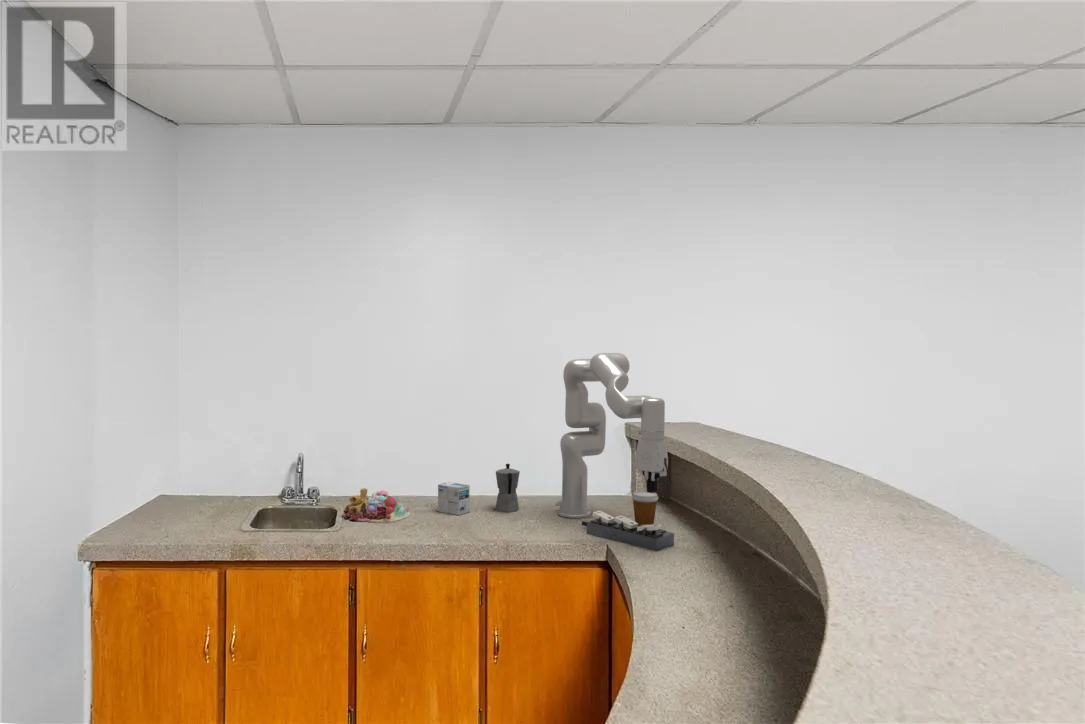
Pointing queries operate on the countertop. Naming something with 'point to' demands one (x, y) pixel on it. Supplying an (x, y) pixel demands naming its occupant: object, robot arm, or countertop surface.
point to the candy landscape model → (375, 508)
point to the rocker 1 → (603, 516)
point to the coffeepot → (507, 489)
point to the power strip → (630, 534)
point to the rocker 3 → (649, 527)
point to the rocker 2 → (626, 522)
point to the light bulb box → (453, 498)
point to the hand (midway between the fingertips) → (651, 492)
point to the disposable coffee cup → (644, 507)
